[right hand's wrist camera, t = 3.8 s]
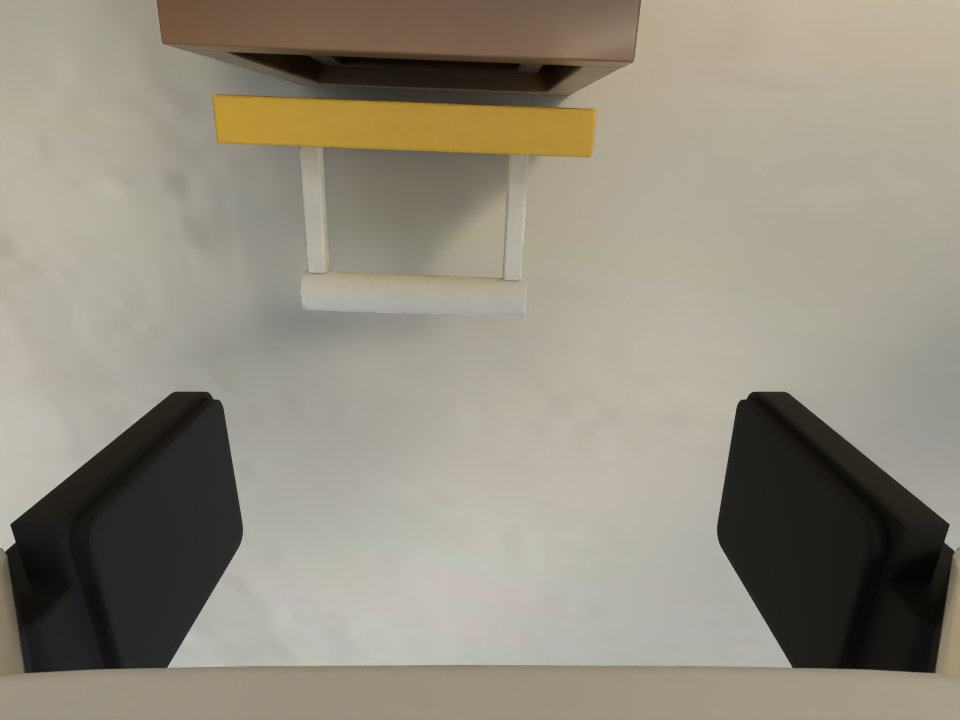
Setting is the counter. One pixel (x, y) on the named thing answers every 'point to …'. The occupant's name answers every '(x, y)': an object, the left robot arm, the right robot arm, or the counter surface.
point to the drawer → (414, 131)
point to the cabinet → (412, 39)
